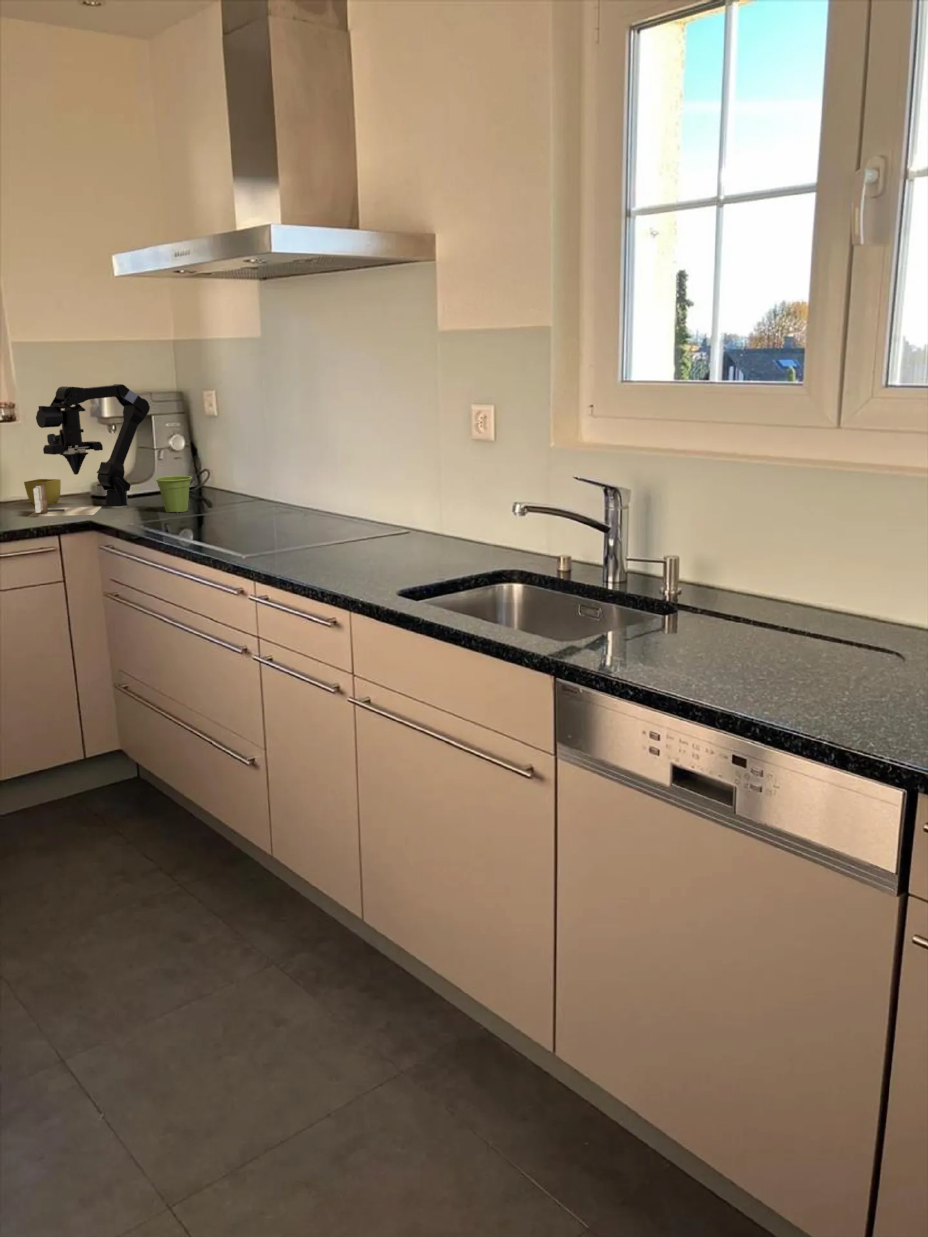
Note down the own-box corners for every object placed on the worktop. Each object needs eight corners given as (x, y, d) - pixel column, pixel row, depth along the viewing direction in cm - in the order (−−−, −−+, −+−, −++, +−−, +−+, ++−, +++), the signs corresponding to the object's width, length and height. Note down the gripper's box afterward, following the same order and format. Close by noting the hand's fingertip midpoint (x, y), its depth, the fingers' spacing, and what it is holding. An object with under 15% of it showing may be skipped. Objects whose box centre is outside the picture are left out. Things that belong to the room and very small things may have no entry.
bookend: (37, 511, 331) (33, 485, 328) (65, 510, 333) (62, 484, 330) (32, 516, 321) (29, 489, 319) (61, 515, 323) (58, 488, 321)
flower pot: (25, 507, 351) (22, 481, 349) (43, 503, 359) (40, 478, 357) (47, 508, 348) (44, 482, 346) (64, 504, 356) (61, 479, 354)
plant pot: (170, 508, 347) (167, 475, 344) (201, 509, 344) (198, 476, 341) (150, 513, 336) (148, 479, 333) (182, 514, 333) (180, 480, 330)
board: (102, 509, 344) (101, 506, 344) (93, 518, 327) (93, 514, 327) (39, 511, 341) (39, 508, 340) (28, 520, 323) (27, 516, 323)
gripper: (80, 423, 341) (85, 470, 345) (30, 426, 326) (35, 475, 330) (101, 424, 335) (106, 472, 339) (51, 428, 320) (56, 477, 324)
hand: (76, 474), depth 333 cm, fingers closed
